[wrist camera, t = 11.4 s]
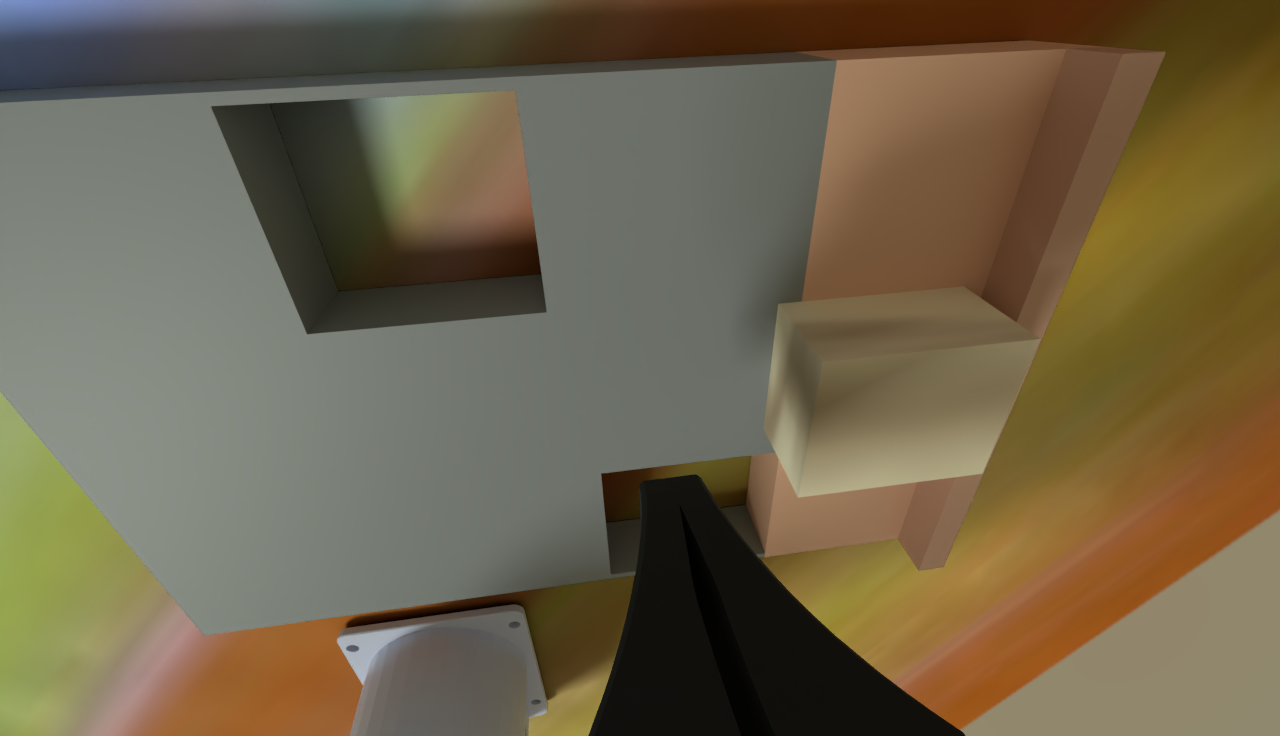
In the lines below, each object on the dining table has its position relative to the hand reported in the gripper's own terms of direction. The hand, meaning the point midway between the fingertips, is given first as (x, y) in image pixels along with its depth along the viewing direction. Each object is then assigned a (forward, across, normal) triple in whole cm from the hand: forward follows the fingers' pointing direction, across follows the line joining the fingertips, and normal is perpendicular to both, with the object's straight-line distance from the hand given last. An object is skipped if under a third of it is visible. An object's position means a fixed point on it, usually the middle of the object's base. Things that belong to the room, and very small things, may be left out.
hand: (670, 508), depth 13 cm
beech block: (+4, -7, 0) cm, 8 cm away
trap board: (+7, +2, 0) cm, 7 cm away
